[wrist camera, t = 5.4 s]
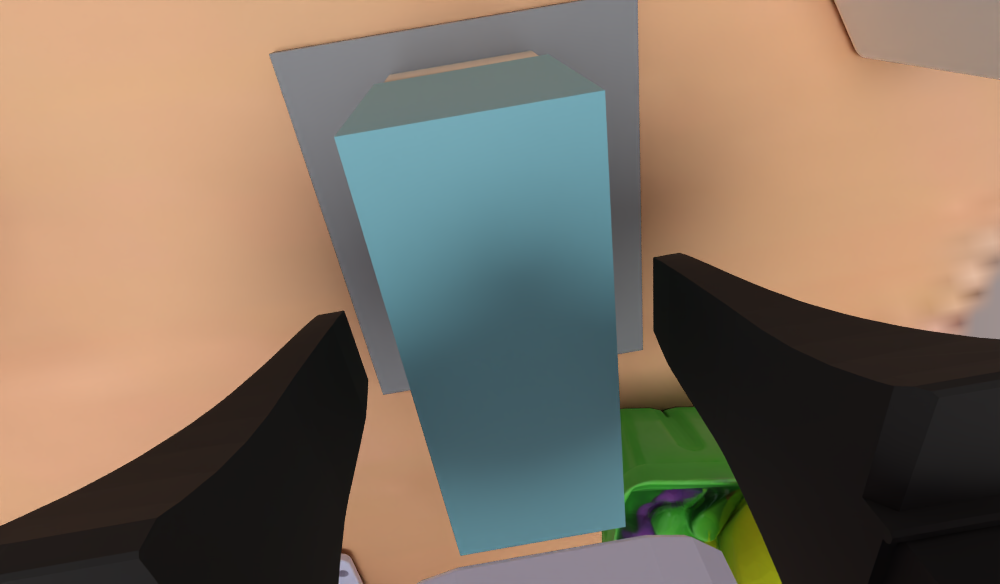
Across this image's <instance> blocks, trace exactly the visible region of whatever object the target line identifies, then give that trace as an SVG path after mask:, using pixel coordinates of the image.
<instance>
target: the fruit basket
mask: <svg viewBox="0 0 1000 584" xmlns="http://www.w3.org/2000/svg"><path fill="white" fill-rule="evenodd" d="M620 418H621V440H622V461H623V482H624V503H625V525H626V527H621V528H616V529H610V530H604V531H602V543H603V542H608V541H614V540H620V539H626V538H631V537H637V536H643V535H686V536H689V537H693V538H695V539H697V540H699V541H701V542H703V543H705V544H707V545H709V546H711V547H713V548H716V549H718V550H720V551H722V553H723V555H724V557H725V559H726V561H727V563H728V565H729V568H730V570H731V572H732V574H733V576H734V578H735V580H736V582H737V584H782V582H781V580H780V578H779V575H778V573H777V571H776V568H775V566H774V564H773V561H772V559H771V557H770V554H769V552H768V549H767V547H766V545H765V542H764V540H763V538H762V535H761V533H760V531H759V529H758V527H757V524H756V522H755V520H754V518H753V516H752V513H751V511H750V509H749V507H748V505H747V502H746V500H745V498H744V496H743V494H742V492H741V490H740V487H739V485H738V483H737V481H736V479H735V477H734V475H733V473H732V471H731V469H730V467H729V465H728V463H727V461H726V459H725V456H724V455H723V453H722V451H721V449H720V447H719V446H718V444H717V442H716V440H715V439H714V437H713V435H712V434H711V432H710V431H709V429H708V428H707V426H706V424H705V423H704V421H703V420H702V418H701V416H700V415H699V413H698V412H697V410H696V409H695V407H675V408H671V409H667V410H664V411H663V412H662V411H660V410H656V409H652V408H625V409H620Z"/></svg>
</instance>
